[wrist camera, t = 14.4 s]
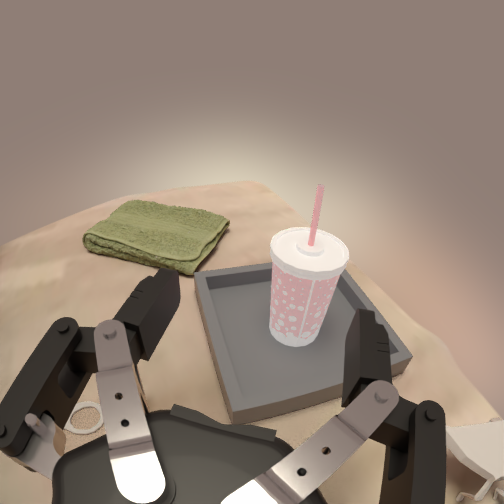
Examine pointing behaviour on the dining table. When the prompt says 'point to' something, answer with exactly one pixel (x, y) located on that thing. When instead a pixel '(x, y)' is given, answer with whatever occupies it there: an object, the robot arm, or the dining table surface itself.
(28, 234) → the dining table surface
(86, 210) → the dining table surface
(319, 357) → the grey tray
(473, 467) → the origami figure
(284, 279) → the beverage cup
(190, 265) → the washcloth
